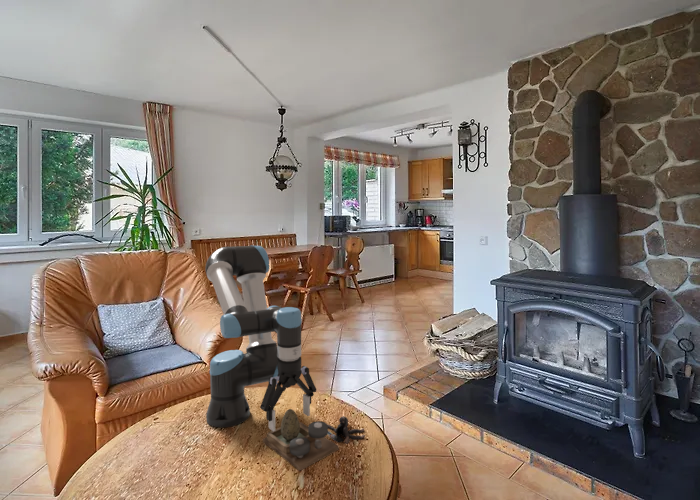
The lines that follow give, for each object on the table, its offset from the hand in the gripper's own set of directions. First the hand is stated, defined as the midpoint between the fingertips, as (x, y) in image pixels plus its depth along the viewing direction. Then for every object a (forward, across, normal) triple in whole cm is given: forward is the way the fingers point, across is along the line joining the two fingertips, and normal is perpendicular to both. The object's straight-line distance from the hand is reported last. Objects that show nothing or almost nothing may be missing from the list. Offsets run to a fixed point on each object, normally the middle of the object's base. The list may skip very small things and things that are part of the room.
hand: (289, 421), depth 127 cm
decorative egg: (+6, 0, -1) cm, 6 cm away
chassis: (+7, +1, -4) cm, 8 cm away
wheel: (+1, +4, -10) cm, 10 cm away
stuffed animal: (+8, +16, -8) cm, 20 cm away
